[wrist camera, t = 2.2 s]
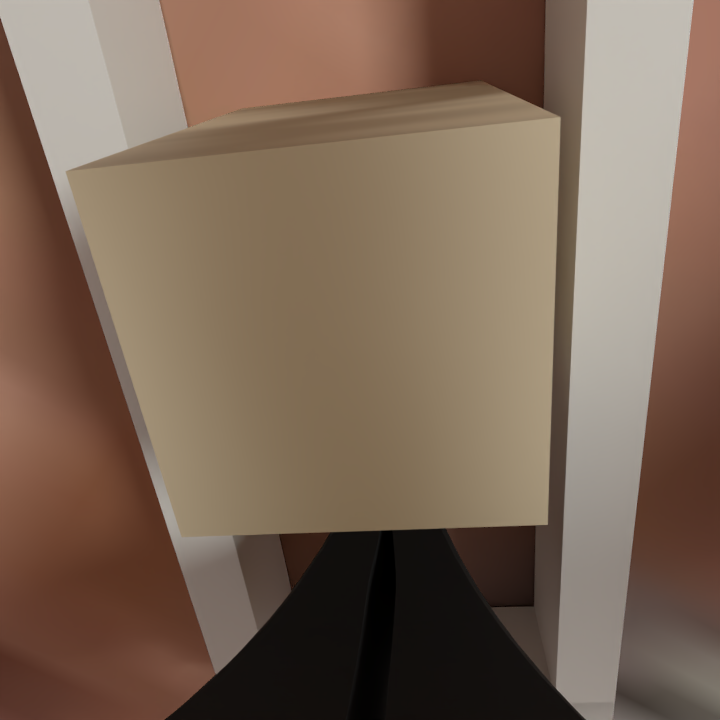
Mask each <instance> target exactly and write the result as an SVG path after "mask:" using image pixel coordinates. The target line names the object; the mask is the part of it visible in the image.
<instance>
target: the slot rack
mask: <svg viewBox="0 0 720 720" xmlns="http://www.w3.org/2000/svg"><path fill="white" fill-rule="evenodd" d="M693 1H694V0H546V14H545V65H544V110H546V111H549V112H551V113H553V114H555V115H557V116H559V117H561V122H560V154H559V185H558V217H557V248H556V279H555V311H554V342H553V374H552V405H551V436H550V468H549V499H548V525H536V530H535V581H534V606H533V607H491V608H492V610H493V611H494V613H495V614H496V615H497V617H498V618H499V620H500V621H501V622H502V624H503V625H504V626H505V628H506V629H507V630H508V632H509V633H510V634H511V636H512V637H513V638H514V640H515V641H516V642H517V644H518V645H519V646H520V647H521V648H522V650H523V651H524V652H525V653H526V654H527V655H528V657H529V658H530V659H531V660H532V661H533V662H534V664H535V665H536V666H537V667H538V668H539V670H540V671H541V672H542V673H543V674H544V675H545V677H546V678H547V679H548V680H549V681H550V683H551V684H552V685H553V686H554V687H555V688H556V689H557V690H558V691H559V692H560V693H561V694H562V695H563V697H564V698H565V699H566V700H567V701H568V702H569V703H570V704H571V705H572V706H573V707H574V708H575V709H576V710H577V711H578V712H579V713H580V714H581V715H582V716H583V717H584V718H585V719H586V720H613V712H614V703H615V695H616V686H617V677H618V668H619V659H620V650H621V641H622V632H623V624H624V615H625V606H626V597H627V588H628V579H629V570H630V561H631V552H632V544H633V535H634V526H635V517H636V508H637V499H638V490H639V481H640V472H641V464H642V455H643V446H644V437H645V428H646V419H647V410H648V401H649V392H650V384H651V375H652V366H653V357H654V348H655V339H656V330H657V321H658V313H659V304H660V295H661V286H662V277H663V268H664V259H665V250H666V241H667V233H668V224H669V215H670V206H671V197H672V188H673V179H674V170H675V161H676V153H677V144H678V135H679V126H680V117H681V108H682V99H683V90H684V81H685V73H686V64H687V55H688V46H689V37H690V28H691V19H692V10H693ZM0 18H1V21H2V24H3V27H4V30H5V33H6V36H7V39H8V42H9V45H10V49H11V52H12V55H13V58H14V61H15V64H16V67H17V70H18V73H19V76H20V79H21V82H22V85H23V88H24V91H25V94H26V97H27V100H28V103H29V107H30V110H31V113H32V116H33V119H34V122H35V125H36V128H37V131H38V134H39V137H40V140H41V143H42V146H43V149H44V152H45V155H46V158H47V161H48V164H49V168H50V171H51V174H52V177H53V180H54V183H55V186H56V189H57V192H58V195H59V198H60V201H61V204H62V207H63V210H64V213H65V216H66V219H67V222H68V225H69V229H70V232H71V235H72V238H73V241H74V244H75V247H76V250H77V253H78V256H79V259H80V262H81V265H82V268H83V271H84V274H85V277H86V280H87V283H88V287H89V290H90V293H91V296H92V299H93V302H94V305H95V308H96V311H97V314H98V317H99V320H100V323H101V326H102V329H103V332H104V335H105V338H106V341H107V344H108V348H109V351H110V354H111V357H112V360H113V363H114V366H115V369H116V372H117V375H118V378H119V381H120V384H121V387H122V390H123V393H124V396H125V399H126V402H127V405H128V409H129V412H130V415H131V418H132V421H133V424H134V427H135V430H136V433H137V436H138V439H139V442H140V445H141V448H142V451H143V454H144V457H145V460H146V463H147V466H148V470H149V473H150V476H151V479H152V482H153V485H154V488H155V491H156V494H157V497H158V500H159V503H160V506H161V509H162V512H163V515H164V518H165V521H166V524H167V528H168V531H169V534H170V537H171V540H172V543H173V546H174V549H175V552H176V555H177V558H178V561H179V564H180V567H181V570H182V573H183V576H184V579H185V582H186V585H187V589H188V592H189V595H190V598H191V601H192V604H193V607H194V610H195V613H196V616H197V619H198V622H199V625H200V628H201V631H202V634H203V637H204V640H205V643H206V646H207V650H208V653H209V656H210V659H211V662H212V665H213V668H214V671H215V674H217V673H218V672H219V671H220V670H221V669H223V668H224V667H225V666H226V665H227V664H228V663H229V662H230V661H231V660H232V659H233V658H234V657H235V656H236V655H237V654H238V653H239V652H240V651H241V650H242V649H243V647H244V646H245V645H246V644H247V643H248V642H249V641H250V640H251V639H252V638H253V636H254V635H255V634H256V633H257V632H258V631H259V630H260V629H261V628H262V627H263V625H264V624H265V623H266V622H267V621H268V620H269V618H270V617H271V616H272V615H273V614H274V612H275V611H276V610H277V609H278V608H279V606H280V605H281V604H282V603H283V601H284V600H285V599H286V598H287V596H288V595H289V594H290V592H291V586H290V582H289V577H288V573H287V568H286V564H285V559H284V555H283V550H282V546H281V541H280V537H279V534H261V535H232V536H202V537H181V534H180V531H179V528H178V524H177V521H176V518H175V515H174V512H173V509H172V505H171V502H170V499H169V496H168V493H167V490H166V487H165V483H164V480H163V477H162V474H161V471H160V468H159V465H158V461H157V458H156V455H155V452H154V449H153V446H152V442H151V439H150V436H149V433H148V430H147V427H146V424H145V420H144V417H143V414H142V411H141V408H140V405H139V402H138V398H137V395H136V392H135V389H134V386H133V383H132V379H131V376H130V373H129V370H128V367H127V364H126V361H125V357H124V354H123V351H122V348H121V345H120V342H119V339H118V335H117V332H116V329H115V326H114V323H113V320H112V317H111V313H110V310H109V307H108V304H107V301H106V298H105V294H104V291H103V288H102V285H101V282H100V279H99V276H98V272H97V269H96V266H95V263H94V260H93V257H92V254H91V250H90V247H89V244H88V241H87V238H86V235H85V231H84V228H83V225H82V222H81V219H80V216H79V213H78V209H77V206H76V203H75V200H74V197H73V194H72V191H71V187H70V184H69V181H68V178H67V175H66V172H65V171H68V170H71V169H73V168H76V167H79V166H82V165H85V164H87V163H90V162H93V161H96V160H99V159H102V158H104V157H107V156H110V155H113V154H116V153H118V152H121V151H124V150H127V149H130V148H133V147H135V146H138V145H141V144H144V143H147V142H149V141H152V140H155V139H158V138H161V137H164V136H166V135H169V134H172V133H175V132H178V131H180V130H183V129H186V128H188V127H187V122H186V118H185V113H184V109H183V104H182V100H181V95H180V91H179V86H178V82H177V78H176V73H175V69H174V64H173V60H172V55H171V51H170V46H169V42H168V37H167V33H166V28H165V24H164V20H163V15H162V11H161V6H160V2H159V0H0Z"/></svg>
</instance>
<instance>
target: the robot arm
mask: <svg viewBox="0 0 720 720" xmlns="http://www.w3.org/2000/svg"><path fill="white" fill-rule="evenodd" d="M165 720H586V719H585V718H584V717H583V716H582V715H581V714H580V713H579V712H578V711H577V710H576V709H575V708H574V707H573V706H572V705H571V704H570V703H569V702H568V701H567V700H566V699H565V698H564V697H563V695H562V694H561V693H560V692H559V691H558V690H557V689H556V688H555V687H554V686H553V685H552V684H551V683H550V681H549V680H548V679H547V678H546V677H545V675H544V674H543V673H542V672H541V671H540V670H539V668H538V667H537V666H536V665H535V664H534V662H533V661H532V660H531V659H530V658H529V657H528V655H527V654H526V653H525V652H524V651H523V650H522V648H521V647H520V646H519V645H518V644H517V642H516V641H515V640H514V638H513V637H512V636H511V634H510V633H509V632H508V630H507V629H506V628H505V626H504V625H503V624H502V622H501V621H500V620H499V618H498V617H497V615H496V614H495V613H494V611H493V610H492V608H491V607H490V605H489V604H488V602H487V601H486V599H485V598H484V596H483V595H482V593H481V592H480V590H479V589H478V587H477V585H476V584H475V582H474V581H473V579H472V577H471V575H470V574H469V572H468V570H467V569H466V567H465V565H464V564H463V562H462V560H461V558H460V556H459V554H458V552H457V551H456V549H455V547H454V545H453V543H452V540H451V538H450V536H449V534H448V532H447V530H446V528H439V529H410V530H380V531H350V532H330V534H329V536H328V537H327V539H326V541H325V542H324V544H323V546H322V547H321V549H320V551H319V552H318V554H317V555H316V557H315V558H314V560H313V561H312V563H311V564H310V565H309V567H308V568H307V570H306V571H305V573H304V574H303V576H302V577H301V579H300V580H299V582H298V583H297V584H296V586H295V587H294V588H293V590H292V591H291V592H290V594H289V595H288V596H287V598H286V599H285V600H284V601H283V603H282V604H281V605H280V606H279V608H278V609H277V610H276V611H275V612H274V614H273V615H272V616H271V617H270V618H269V620H268V621H267V622H266V623H265V624H264V625H263V627H262V628H261V629H260V630H259V631H258V632H257V633H256V634H255V635H254V636H253V638H252V639H251V640H250V641H249V642H248V643H247V644H246V645H245V646H244V647H243V649H242V650H241V651H240V652H239V653H238V654H237V655H236V656H235V657H234V658H233V659H232V660H231V661H230V662H229V663H228V664H227V665H226V666H225V667H224V668H223V669H221V670H220V671H219V672H218V673H217V674H216V675H215V676H214V677H213V678H212V679H211V680H210V681H208V682H207V683H206V684H205V685H204V686H203V687H202V688H201V689H200V690H199V691H198V692H197V693H195V694H194V695H193V696H192V697H191V698H190V699H189V700H188V701H187V702H186V703H184V704H183V705H182V706H181V707H180V708H179V709H177V710H176V711H175V712H174V713H173V714H171V715H170V716H169V717H167V718H166V719H165Z"/></svg>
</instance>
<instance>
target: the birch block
mask: <svg viewBox="0 0 720 720" xmlns="http://www.w3.org/2000/svg"><path fill="white" fill-rule="evenodd" d="M560 122H561V117H559V116H557V115H555V114H553V113H551V112H549V111H546V110H544V109H542V108H540V107H538V106H535V105H533V104H531V103H529V102H527V101H525V100H522V99H520V98H518V97H516V96H514V95H511V94H509V93H507V92H505V91H503V90H501V89H498V88H496V87H494V86H492V85H490V84H487V83H485V82H483V81H481V80H480V81H471V82H463V83H454V84H446V85H437V86H429V87H421V88H412V89H404V90H395V91H387V92H378V93H370V94H361V95H353V96H344V97H336V98H327V99H319V100H311V101H302V102H294V103H285V104H277V105H268V106H260V107H251V108H243V109H240V110H237V111H234V112H231V113H228V114H226V115H223V116H220V117H217V118H214V119H211V120H209V121H206V122H203V123H200V124H197V125H195V126H192V127H189V128H186V129H183V130H180V131H178V132H175V133H172V134H169V135H166V136H164V137H161V138H158V139H155V140H152V141H149V142H147V143H144V144H141V145H138V146H135V147H133V148H130V149H127V150H124V151H121V152H118V153H116V154H113V155H110V156H107V157H104V158H102V159H99V160H96V161H93V162H90V163H87V164H85V165H82V166H79V167H76V168H73V169H71V170H68V171H65V172H66V175H67V178H68V181H69V184H70V187H71V191H72V194H73V197H74V200H75V203H76V206H77V209H78V213H79V216H80V219H81V222H82V225H83V228H84V231H85V235H86V238H87V241H88V244H89V247H90V250H91V254H92V257H93V260H94V263H95V266H96V269H97V272H98V276H99V279H100V282H101V285H102V288H103V291H104V294H105V298H106V301H107V304H108V307H109V310H110V313H111V317H112V320H113V323H114V326H115V329H116V332H117V335H118V339H119V342H120V345H121V348H122V351H123V354H124V357H125V361H126V364H127V367H128V370H129V373H130V376H131V379H132V383H133V386H134V389H135V392H136V395H137V398H138V402H139V405H140V408H141V411H142V414H143V417H144V420H145V424H146V427H147V430H148V433H149V436H150V439H151V442H152V446H153V449H154V452H155V455H156V458H157V461H158V465H159V468H160V471H161V474H162V477H163V480H164V483H165V487H166V490H167V493H168V496H169V499H170V502H171V505H172V509H173V512H174V515H175V518H176V521H177V524H178V528H179V531H180V534H181V537H202V536H232V535H261V534H291V533H321V532H350V531H380V530H410V529H439V528H469V527H499V526H528V525H548V499H549V468H550V436H551V405H552V374H553V342H554V311H555V279H556V248H557V217H558V185H559V154H560Z"/></svg>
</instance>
